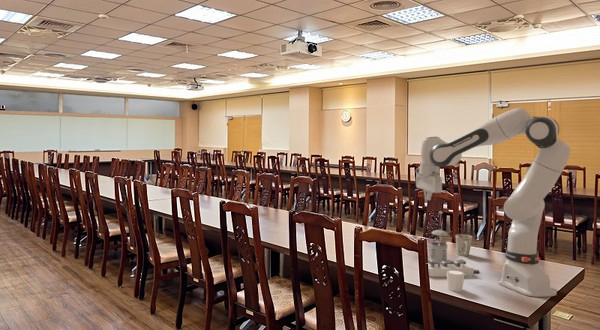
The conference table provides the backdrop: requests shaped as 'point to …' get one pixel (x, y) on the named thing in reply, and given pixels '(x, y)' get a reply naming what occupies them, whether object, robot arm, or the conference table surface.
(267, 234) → the conference table surface
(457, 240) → the mug
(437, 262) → the block
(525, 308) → the conference table surface
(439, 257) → the french press
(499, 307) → the conference table surface
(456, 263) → the rocker
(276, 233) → the conference table surface
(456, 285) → the shot glass
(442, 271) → the rocker switch panel
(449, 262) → the plate
